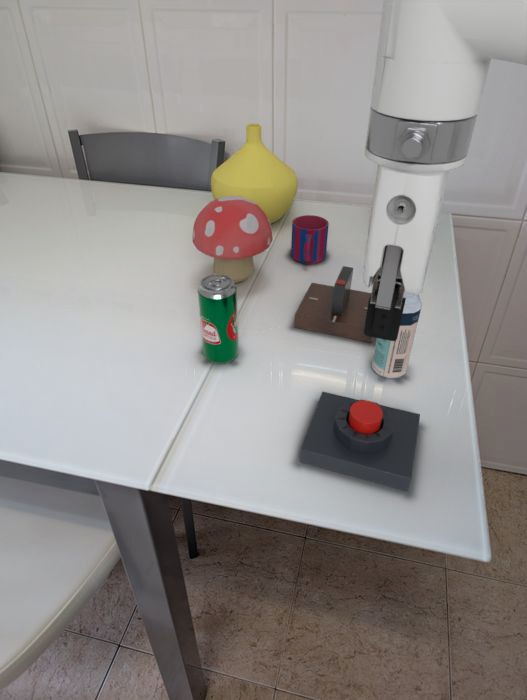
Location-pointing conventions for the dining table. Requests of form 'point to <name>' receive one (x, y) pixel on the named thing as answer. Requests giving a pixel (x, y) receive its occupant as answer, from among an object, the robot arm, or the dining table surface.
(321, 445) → the button box
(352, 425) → the button
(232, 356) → the soda can
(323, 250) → the cup
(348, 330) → the knob panel
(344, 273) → the dark upright slab
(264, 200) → the vase
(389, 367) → the beer can
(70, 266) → the dining table surface
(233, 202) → the decorative mushroom
